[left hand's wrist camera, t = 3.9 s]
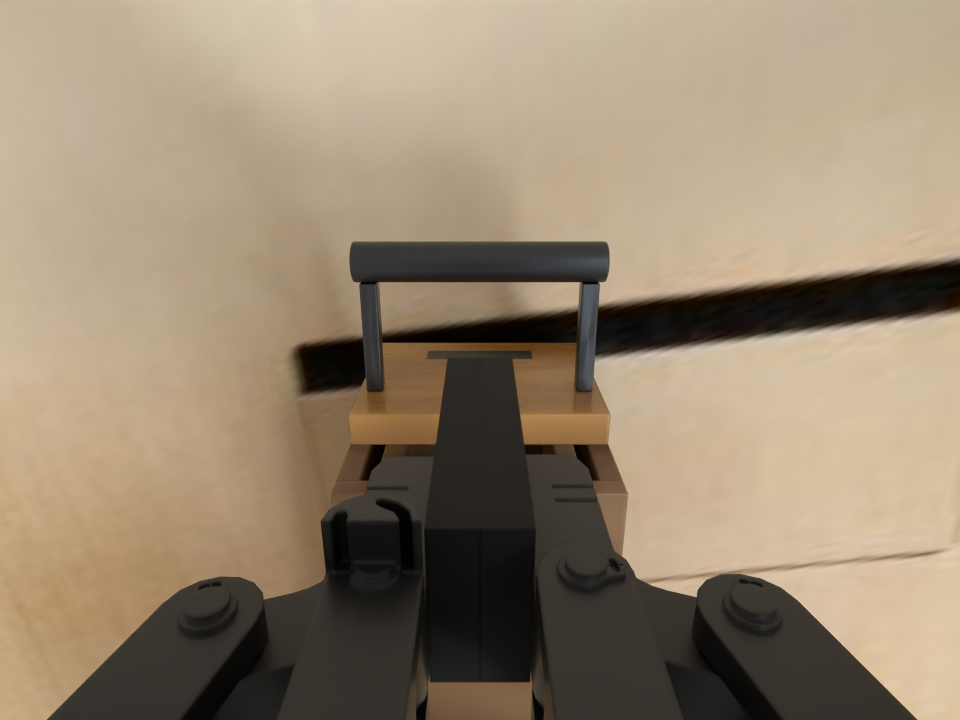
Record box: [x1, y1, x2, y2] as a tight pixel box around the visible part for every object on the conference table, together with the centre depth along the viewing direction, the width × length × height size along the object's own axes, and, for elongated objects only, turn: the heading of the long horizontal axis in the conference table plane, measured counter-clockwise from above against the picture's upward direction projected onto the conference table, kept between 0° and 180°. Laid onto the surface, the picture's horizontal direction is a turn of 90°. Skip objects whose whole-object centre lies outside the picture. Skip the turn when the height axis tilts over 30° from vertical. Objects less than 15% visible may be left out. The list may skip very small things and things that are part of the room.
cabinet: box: [331, 443, 628, 720], centre depth 29 cm, size 22×10×9 cm, turn 0°
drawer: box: [349, 242, 610, 462], centre depth 27 cm, size 26×9×7 cm, turn 0°
